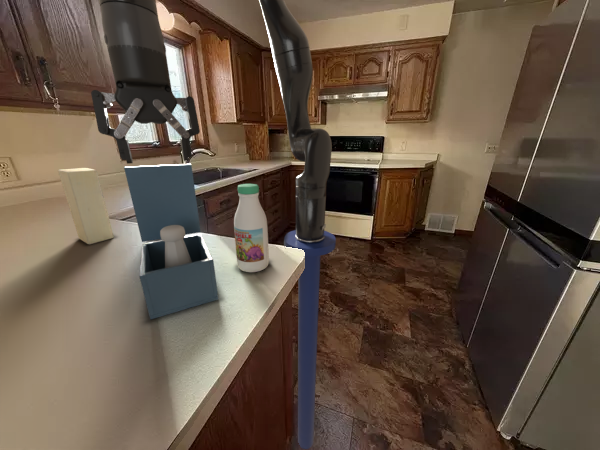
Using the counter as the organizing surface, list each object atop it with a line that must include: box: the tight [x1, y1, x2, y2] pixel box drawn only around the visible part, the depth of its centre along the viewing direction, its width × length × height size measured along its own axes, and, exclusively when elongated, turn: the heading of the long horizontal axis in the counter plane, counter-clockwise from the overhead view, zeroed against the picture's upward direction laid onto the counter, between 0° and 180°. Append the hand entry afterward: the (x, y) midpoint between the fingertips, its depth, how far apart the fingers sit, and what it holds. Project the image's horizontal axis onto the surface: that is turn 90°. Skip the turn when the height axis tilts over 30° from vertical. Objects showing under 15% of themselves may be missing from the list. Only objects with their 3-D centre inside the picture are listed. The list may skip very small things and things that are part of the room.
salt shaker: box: [160, 225, 192, 268], centre depth 49 cm, size 6×6×13 cm
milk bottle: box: [233, 183, 270, 273], centre depth 57 cm, size 8×8×20 cm
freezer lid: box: [123, 163, 202, 243], centre depth 53 cm, size 15×12×5 cm
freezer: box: [138, 233, 219, 320], centre depth 50 cm, size 15×12×9 cm
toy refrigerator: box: [57, 167, 114, 245], centre depth 73 cm, size 8×7×21 cm
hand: (159, 161), depth 42 cm, fingers open, 8 cm apart
